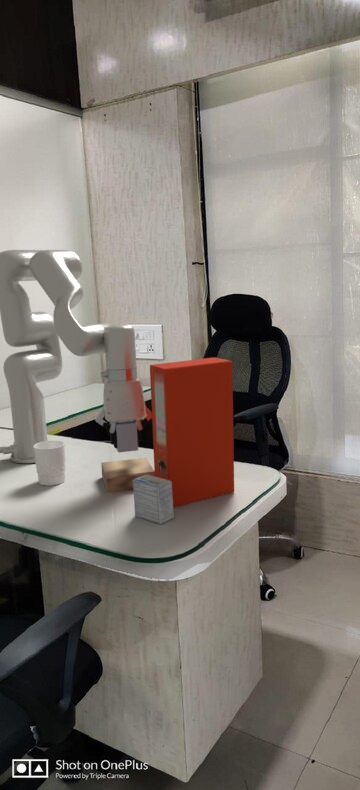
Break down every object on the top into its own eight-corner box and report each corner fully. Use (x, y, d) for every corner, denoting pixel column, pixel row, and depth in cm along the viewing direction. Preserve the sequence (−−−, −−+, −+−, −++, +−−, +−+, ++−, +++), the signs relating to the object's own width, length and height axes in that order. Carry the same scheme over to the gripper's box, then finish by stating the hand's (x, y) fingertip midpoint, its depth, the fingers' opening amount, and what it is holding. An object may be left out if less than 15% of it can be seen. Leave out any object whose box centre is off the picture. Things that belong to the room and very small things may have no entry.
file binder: (235, 492, 146) (232, 360, 140) (171, 508, 138) (165, 368, 132) (217, 483, 153) (213, 357, 147) (155, 497, 145) (149, 364, 139)
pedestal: (107, 492, 150) (106, 476, 149) (102, 477, 161) (101, 462, 161) (155, 486, 153) (154, 471, 152) (146, 472, 164) (146, 457, 163)
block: (118, 452, 152) (116, 424, 151) (115, 448, 157) (114, 421, 156) (138, 450, 153) (136, 423, 152) (135, 446, 158) (133, 419, 157)
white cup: (33, 480, 161) (30, 443, 159) (62, 474, 165) (59, 439, 163) (41, 488, 154) (37, 450, 152) (71, 483, 158) (68, 445, 156)
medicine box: (174, 518, 133) (172, 480, 131) (160, 525, 129) (158, 486, 128) (148, 510, 138) (146, 473, 136) (134, 516, 135) (132, 479, 133)
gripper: (88, 380, 146) (94, 453, 149) (158, 374, 150) (162, 445, 153) (86, 375, 153) (91, 445, 157) (152, 370, 157) (156, 438, 160)
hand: (126, 444), depth 155 cm, fingers closed on block, 5 cm apart
